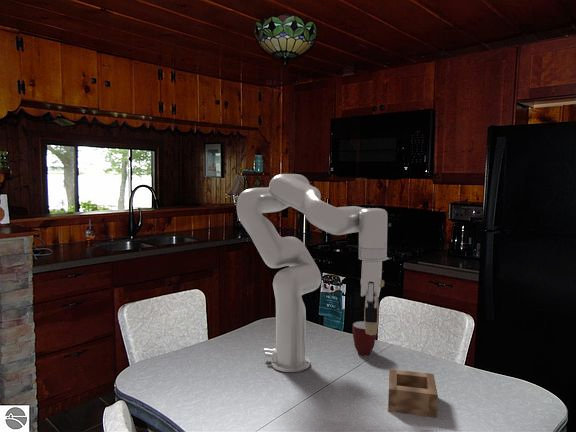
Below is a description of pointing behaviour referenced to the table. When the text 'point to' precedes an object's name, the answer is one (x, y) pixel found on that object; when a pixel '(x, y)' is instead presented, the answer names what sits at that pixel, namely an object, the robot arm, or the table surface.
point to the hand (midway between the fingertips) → (371, 318)
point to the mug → (362, 339)
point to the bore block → (412, 393)
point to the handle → (372, 327)
